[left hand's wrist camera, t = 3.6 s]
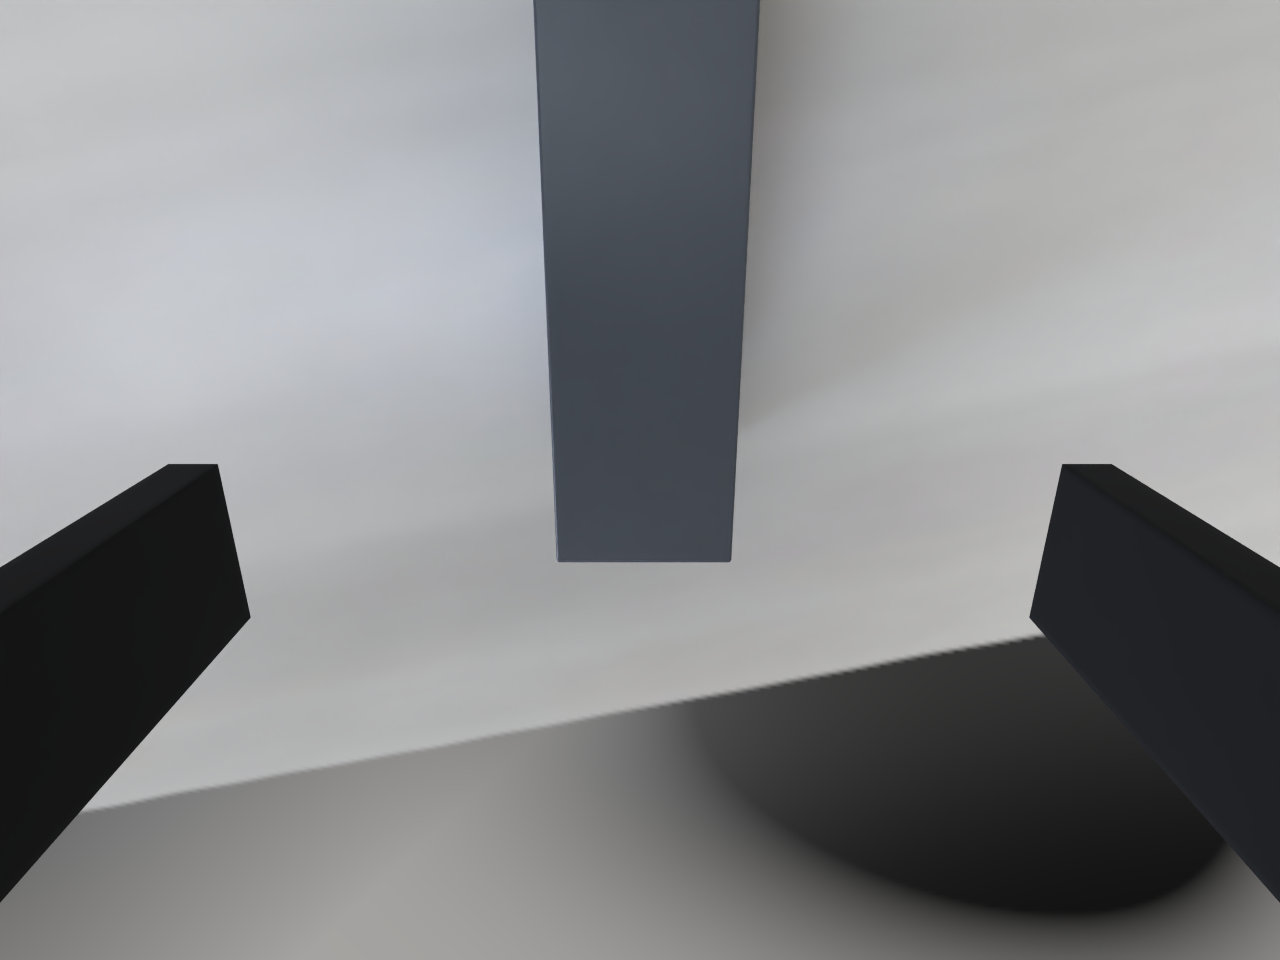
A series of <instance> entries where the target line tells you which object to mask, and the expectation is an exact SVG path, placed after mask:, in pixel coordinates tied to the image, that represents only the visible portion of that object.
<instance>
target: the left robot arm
mask: <svg viewBox="0 0 1280 960" xmlns="http://www.w3.org/2000/svg"><path fill="white" fill-rule="evenodd" d="M250 618H251V617H250V612H249V608H248V603H247V598H246V594H245V589H244V584H243V580H242V575H241V570H240V566H239V561H238V556H237V552H236V547H235V543H234V538H233V533H232V529H231V524H230V519H229V515H228V510H227V505H226V501H225V496H224V491H223V487H222V482H221V477H220V473H219V468H218V464H168V465H166V466H165V467H163V468H161V469H160V470H158V471H156V472H155V473H153V474H152V475H150V476H148V477H147V478H145V479H143V480H142V481H140V482H139V483H137V484H135V485H134V486H132V487H130V488H129V489H127V490H125V491H124V492H122V493H121V494H119V495H117V496H116V497H114V498H112V499H111V500H109V501H108V502H106V503H104V504H103V505H101V506H99V507H98V508H96V509H95V510H93V511H91V512H90V513H88V514H86V515H85V516H83V517H82V518H80V519H78V520H77V521H75V522H73V523H72V524H70V525H69V526H67V527H65V528H64V529H62V530H60V531H59V532H57V533H56V534H54V535H52V536H51V537H49V538H47V539H46V540H44V541H42V542H41V543H39V544H38V545H36V546H34V547H33V548H31V549H29V550H28V551H26V552H25V553H23V554H21V555H20V556H18V557H16V558H15V559H13V560H12V561H10V562H8V563H7V564H5V565H3V566H2V567H0V902H1V901H2V900H3V899H4V898H5V896H6V895H7V894H8V893H9V892H10V891H11V890H12V888H13V887H14V886H15V885H16V884H17V883H18V882H19V881H20V879H21V878H22V877H23V876H24V875H25V874H26V873H27V871H28V870H29V869H30V868H31V867H32V866H33V865H34V863H35V862H36V861H37V860H38V859H39V858H40V857H41V855H42V854H43V853H44V852H45V851H46V850H47V849H48V847H49V846H50V845H51V844H52V843H53V842H54V841H55V839H56V838H57V837H58V836H59V835H60V834H61V833H62V832H63V830H64V829H65V828H66V827H67V826H68V825H69V824H70V822H71V821H72V820H73V819H74V818H75V817H76V816H77V815H78V813H79V812H80V811H81V810H82V809H83V808H84V807H85V805H86V804H87V803H88V802H89V801H90V800H91V799H92V797H93V796H94V795H95V794H96V793H97V792H98V791H99V789H100V788H101V787H102V786H103V785H104V784H105V783H106V782H107V780H108V779H109V778H110V777H111V776H112V775H113V774H114V772H115V771H116V770H117V769H118V768H119V767H120V766H121V764H122V763H123V762H124V761H125V760H126V759H127V758H128V756H129V755H130V754H131V753H132V752H133V751H134V750H135V748H136V747H137V746H138V745H139V744H140V743H141V742H142V741H143V739H144V738H145V737H146V736H147V735H148V734H149V733H150V731H151V730H152V729H153V728H154V727H155V726H156V725H157V723H158V722H159V721H160V720H161V719H162V718H163V717H164V715H165V714H166V713H167V712H168V711H169V710H170V709H171V708H172V706H173V705H174V704H175V703H176V702H177V701H178V700H179V698H180V697H181V696H182V695H183V694H184V693H185V692H186V690H187V689H188V688H189V687H190V686H191V685H192V684H193V682H194V681H195V680H196V679H197V678H198V677H199V676H200V675H201V673H202V672H203V671H204V670H205V669H206V668H207V667H208V665H209V664H210V663H211V662H212V661H213V660H214V659H215V657H216V656H217V655H218V654H219V653H220V652H221V651H222V649H223V648H224V647H225V646H226V645H227V644H228V643H229V642H230V640H231V639H232V638H233V637H234V636H235V635H236V634H237V632H238V631H239V630H240V629H241V628H242V627H243V626H244V624H245V623H246V622H247V621H248V620H249V619H250ZM1029 618H1030V619H1031V620H1032V621H1033V622H1034V623H1035V624H1036V626H1037V627H1038V628H1039V629H1040V630H1041V631H1042V632H1043V634H1044V635H1045V636H1046V637H1047V638H1048V639H1049V640H1050V642H1051V643H1052V644H1053V645H1054V646H1055V647H1056V648H1057V649H1058V651H1059V652H1060V653H1061V654H1062V655H1063V656H1064V657H1065V659H1066V660H1067V661H1068V662H1069V663H1070V664H1071V665H1072V667H1073V668H1074V669H1075V670H1076V671H1077V672H1078V673H1079V674H1080V676H1081V677H1082V678H1083V679H1084V680H1085V681H1086V682H1087V684H1088V685H1089V686H1090V687H1091V688H1092V689H1093V690H1094V692H1095V693H1096V694H1097V695H1098V696H1099V697H1100V698H1101V700H1102V701H1103V702H1104V703H1105V704H1106V705H1107V706H1108V708H1109V709H1110V710H1111V711H1112V712H1113V713H1114V714H1115V715H1116V717H1117V718H1118V719H1119V720H1120V721H1121V722H1122V723H1123V725H1124V726H1125V727H1126V728H1127V729H1128V730H1129V731H1130V733H1131V734H1132V735H1133V736H1134V737H1135V738H1136V739H1137V740H1138V742H1139V743H1140V744H1141V745H1142V746H1143V747H1144V748H1145V750H1146V751H1147V752H1148V753H1149V754H1150V755H1151V756H1152V758H1153V759H1154V760H1155V761H1156V762H1157V763H1158V764H1159V766H1160V767H1161V768H1162V769H1163V770H1164V771H1165V772H1166V774H1167V775H1168V776H1169V777H1170V778H1171V779H1172V780H1173V781H1174V783H1175V784H1176V785H1177V786H1178V787H1179V788H1180V789H1181V791H1182V792H1183V793H1184V794H1185V795H1186V796H1187V797H1188V799H1189V800H1190V801H1191V802H1192V803H1193V804H1194V805H1195V807H1196V808H1197V809H1198V810H1199V811H1200V812H1201V813H1202V814H1203V816H1204V817H1205V818H1206V819H1207V820H1208V821H1209V822H1210V824H1211V825H1212V826H1213V827H1214V828H1215V829H1216V830H1217V832H1218V833H1219V834H1220V835H1221V836H1222V837H1223V838H1224V840H1225V841H1226V842H1227V843H1228V844H1229V845H1230V846H1231V848H1232V849H1233V850H1234V851H1235V852H1236V853H1237V854H1238V855H1239V857H1240V858H1241V859H1242V860H1243V861H1244V862H1245V863H1246V865H1247V866H1248V867H1249V868H1250V869H1251V870H1252V871H1253V873H1254V874H1255V875H1256V876H1257V877H1258V878H1259V879H1260V880H1261V882H1262V883H1263V884H1264V885H1265V886H1266V887H1267V888H1268V890H1269V891H1270V892H1271V893H1272V894H1273V895H1274V896H1275V898H1276V899H1277V900H1278V901H1279V902H1280V567H1278V566H1277V565H1275V564H1273V563H1272V562H1270V561H1268V560H1267V559H1265V558H1264V557H1262V556H1260V555H1259V554H1257V553H1255V552H1254V551H1252V550H1251V549H1249V548H1247V547H1246V546H1244V545H1242V544H1241V543H1239V542H1238V541H1236V540H1234V539H1233V538H1231V537H1229V536H1228V535H1226V534H1224V533H1223V532H1221V531H1220V530H1218V529H1216V528H1215V527H1213V526H1211V525H1210V524H1208V523H1207V522H1205V521H1203V520H1202V519H1200V518H1198V517H1197V516H1195V515H1194V514H1192V513H1190V512H1189V511H1187V510H1185V509H1184V508H1182V507H1181V506H1179V505H1177V504H1176V503H1174V502H1172V501H1171V500H1169V499H1168V498H1166V497H1164V496H1163V495H1161V494H1159V493H1158V492H1156V491H1155V490H1153V489H1151V488H1150V487H1148V486H1146V485H1145V484H1143V483H1141V482H1140V481H1138V480H1137V479H1135V478H1133V477H1132V476H1130V475H1128V474H1127V473H1125V472H1124V471H1122V470H1120V469H1119V468H1117V467H1115V466H1114V465H1112V464H1062V468H1061V473H1060V477H1059V482H1058V487H1057V491H1056V496H1055V501H1054V505H1053V510H1052V515H1051V519H1050V524H1049V529H1048V533H1047V538H1046V542H1045V547H1044V552H1043V556H1042V561H1041V566H1040V570H1039V575H1038V580H1037V584H1036V589H1035V594H1034V598H1033V603H1032V608H1031V612H1030V617H1029Z"/></svg>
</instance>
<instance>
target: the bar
mask: <svg viewBox="0 0 1280 960" xmlns="http://www.w3.org/2000/svg"><path fill="white" fill-rule="evenodd" d="M533 2H534V26H535V50H536V74H537V98H538V122H539V146H540V169H541V193H542V217H543V241H544V265H545V289H546V313H547V336H548V360H549V384H550V408H551V432H552V456H553V480H554V503H555V527H556V551H557V561H558V562H730V561H731V553H732V533H733V514H734V495H735V475H736V456H737V436H738V417H739V398H740V378H741V359H742V339H743V320H744V301H745V281H746V262H747V242H748V223H749V204H750V184H751V165H752V145H753V126H754V107H755V87H756V68H757V49H758V29H759V10H760V0H533Z"/></svg>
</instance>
